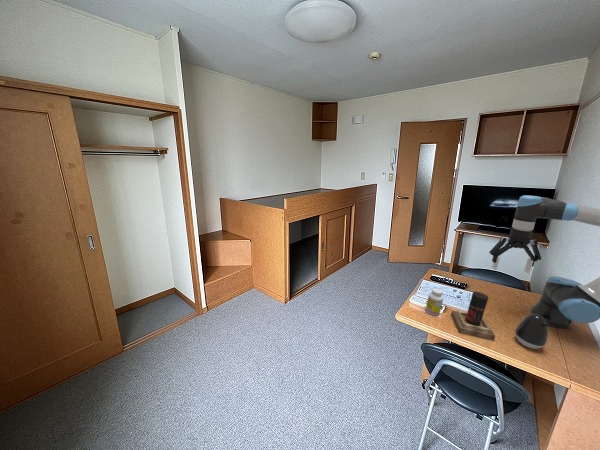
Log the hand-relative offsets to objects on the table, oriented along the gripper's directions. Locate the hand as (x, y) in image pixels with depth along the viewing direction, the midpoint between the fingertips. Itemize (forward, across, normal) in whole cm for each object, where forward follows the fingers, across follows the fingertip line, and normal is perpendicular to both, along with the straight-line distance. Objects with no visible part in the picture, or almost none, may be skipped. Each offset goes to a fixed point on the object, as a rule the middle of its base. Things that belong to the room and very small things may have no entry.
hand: (510, 270), depth 119 cm
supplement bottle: (+26, +33, +6) cm, 42 cm away
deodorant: (+24, +17, +13) cm, 32 cm away
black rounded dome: (+27, -4, +18) cm, 33 cm away
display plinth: (+26, +17, +13) cm, 34 cm away
